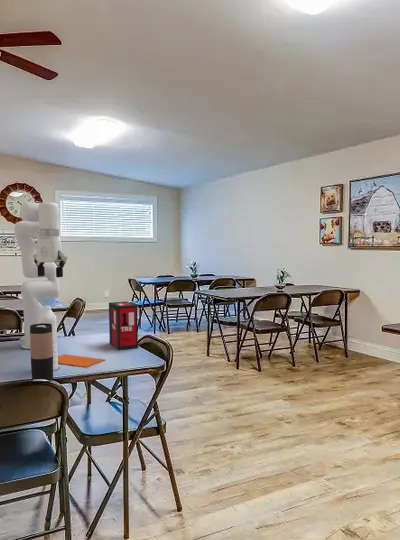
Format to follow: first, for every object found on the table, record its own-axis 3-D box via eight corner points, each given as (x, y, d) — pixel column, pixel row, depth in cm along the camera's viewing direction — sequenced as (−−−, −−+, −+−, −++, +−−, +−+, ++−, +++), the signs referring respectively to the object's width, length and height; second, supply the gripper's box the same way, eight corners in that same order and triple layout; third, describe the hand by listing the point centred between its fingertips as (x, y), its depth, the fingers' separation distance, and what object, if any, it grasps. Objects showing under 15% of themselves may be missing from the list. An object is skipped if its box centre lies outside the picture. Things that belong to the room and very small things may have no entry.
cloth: (43, 361, 194) (43, 360, 194) (64, 355, 205) (64, 354, 205) (85, 367, 184) (85, 366, 184) (104, 360, 195) (104, 359, 195)
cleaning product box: (109, 343, 228) (108, 302, 227) (127, 341, 232) (126, 301, 231) (119, 350, 213) (118, 306, 212) (137, 348, 217) (137, 305, 216)
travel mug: (34, 377, 171) (32, 323, 170) (55, 376, 172) (54, 323, 171) (28, 383, 164) (26, 327, 162) (51, 383, 164) (49, 326, 163)
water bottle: (42, 372, 178) (40, 307, 176) (39, 368, 183) (37, 305, 182) (65, 369, 182) (63, 305, 180) (61, 365, 188) (59, 303, 186)
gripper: (25, 233, 186) (27, 276, 187) (59, 233, 178) (60, 278, 180) (40, 233, 193) (41, 275, 194) (72, 233, 185) (73, 276, 186)
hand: (50, 276), depth 187 cm, fingers open, 9 cm apart
